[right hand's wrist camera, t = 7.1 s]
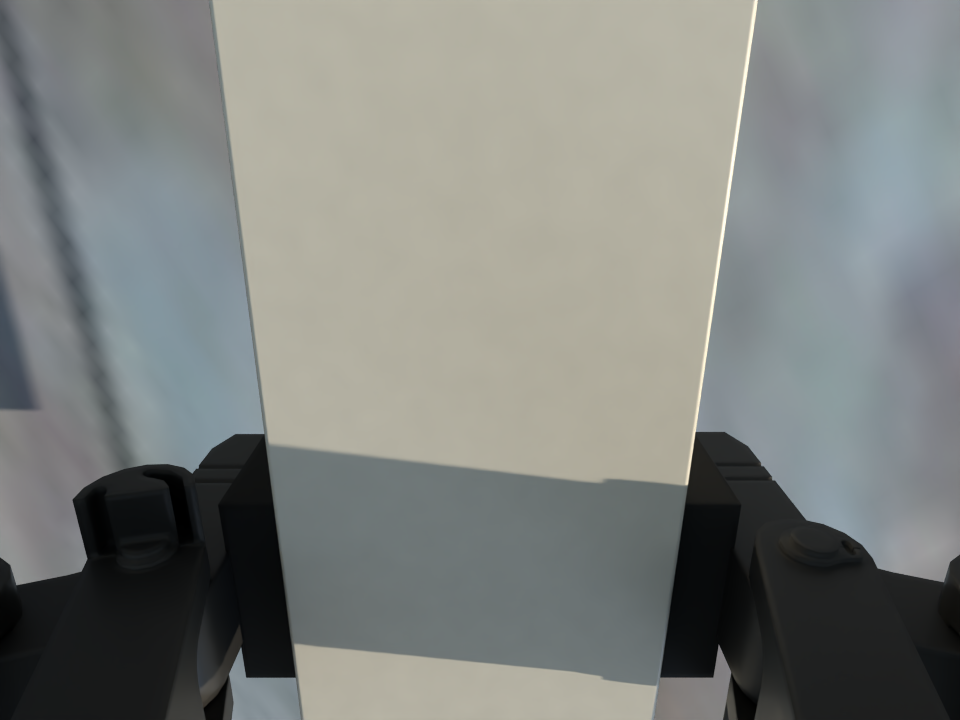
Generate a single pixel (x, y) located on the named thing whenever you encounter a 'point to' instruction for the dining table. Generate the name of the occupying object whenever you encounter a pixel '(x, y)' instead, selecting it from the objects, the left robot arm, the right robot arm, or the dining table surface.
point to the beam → (480, 333)
